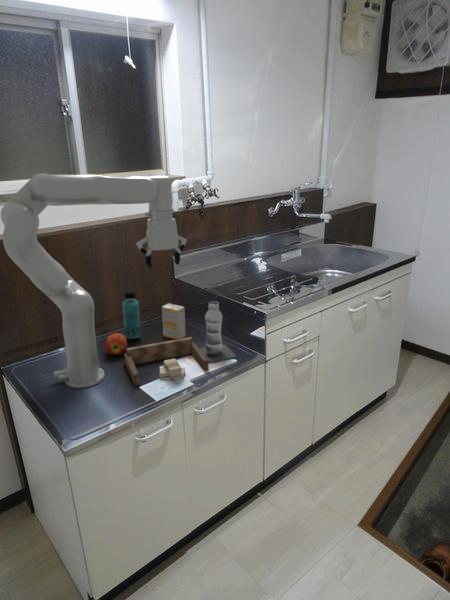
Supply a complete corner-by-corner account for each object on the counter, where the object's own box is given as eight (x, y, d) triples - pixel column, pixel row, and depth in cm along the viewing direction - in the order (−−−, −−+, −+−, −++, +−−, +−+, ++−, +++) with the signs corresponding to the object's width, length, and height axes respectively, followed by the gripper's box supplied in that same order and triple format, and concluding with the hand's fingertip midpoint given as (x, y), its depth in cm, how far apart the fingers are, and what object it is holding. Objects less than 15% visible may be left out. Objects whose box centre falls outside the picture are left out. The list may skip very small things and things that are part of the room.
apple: (105, 359, 153) (103, 339, 150) (106, 349, 160) (105, 330, 158) (128, 357, 154) (126, 337, 151) (128, 347, 162) (126, 328, 159)
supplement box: (186, 336, 171) (185, 306, 167) (178, 341, 168) (177, 310, 163) (170, 332, 175) (169, 302, 171) (162, 336, 172) (161, 306, 167)
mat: (208, 363, 150) (208, 362, 150) (197, 350, 160) (197, 349, 160) (236, 357, 154) (236, 356, 154) (224, 345, 164) (224, 344, 164)
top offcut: (164, 367, 144) (163, 360, 143) (175, 364, 145) (175, 358, 144) (170, 376, 138) (169, 370, 137) (181, 374, 139) (181, 367, 138)
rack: (134, 385, 136) (133, 369, 134) (125, 363, 150) (123, 348, 148) (208, 370, 146) (208, 354, 144) (193, 350, 160) (192, 336, 158)
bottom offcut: (159, 379, 141) (159, 373, 140) (161, 373, 144) (161, 367, 144) (183, 380, 141) (183, 373, 140) (184, 374, 144) (184, 367, 144)
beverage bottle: (123, 336, 171) (119, 290, 164) (140, 334, 173) (137, 288, 166) (125, 343, 165) (121, 295, 158) (142, 341, 167) (139, 293, 160)
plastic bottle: (223, 349, 159) (223, 300, 152) (221, 358, 153) (221, 306, 146) (206, 348, 160) (206, 299, 153) (203, 357, 154) (203, 305, 147)
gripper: (137, 218, 133) (140, 270, 139) (189, 215, 139) (190, 265, 145) (132, 214, 139) (135, 265, 145) (182, 211, 146) (183, 260, 151)
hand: (163, 265), depth 145 cm, fingers open, 9 cm apart
